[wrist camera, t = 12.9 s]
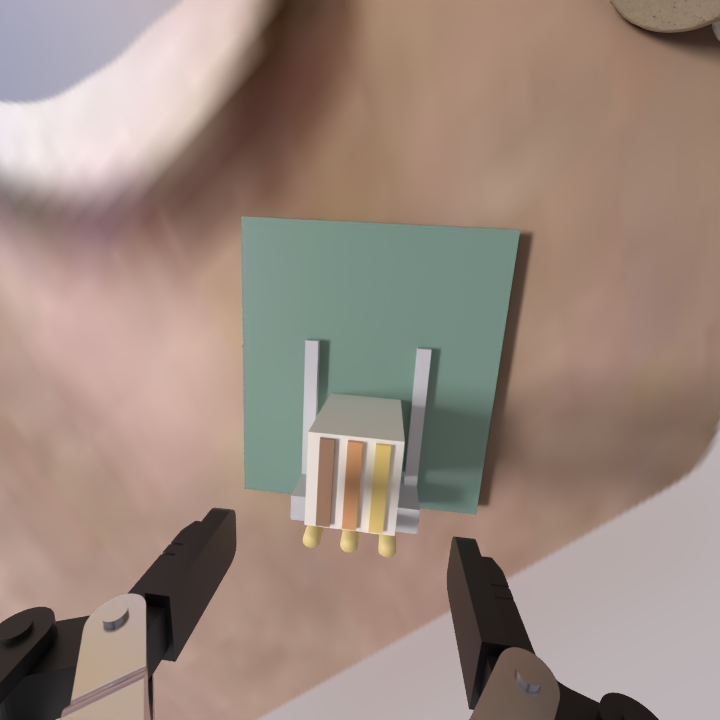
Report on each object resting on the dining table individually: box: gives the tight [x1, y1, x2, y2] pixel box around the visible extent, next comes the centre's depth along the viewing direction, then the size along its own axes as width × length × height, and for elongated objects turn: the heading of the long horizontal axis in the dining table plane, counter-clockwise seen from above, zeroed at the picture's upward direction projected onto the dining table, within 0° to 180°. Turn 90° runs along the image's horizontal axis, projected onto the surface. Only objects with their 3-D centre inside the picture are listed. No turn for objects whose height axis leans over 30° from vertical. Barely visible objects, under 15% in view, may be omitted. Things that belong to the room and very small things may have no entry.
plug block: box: [304, 393, 405, 536], centre depth 19 cm, size 5×4×6 cm
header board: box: [241, 216, 520, 557], centre depth 19 cm, size 18×16×6 cm
